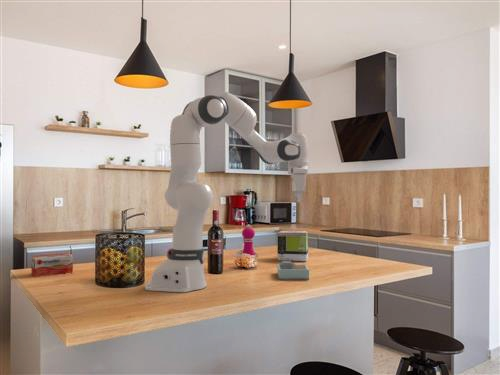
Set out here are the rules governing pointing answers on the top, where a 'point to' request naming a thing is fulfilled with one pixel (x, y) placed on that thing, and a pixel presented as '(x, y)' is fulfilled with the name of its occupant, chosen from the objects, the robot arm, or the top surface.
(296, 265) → the stone sandstone
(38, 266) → the medicine box
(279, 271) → the tub
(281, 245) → the tea box
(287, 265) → the grey block
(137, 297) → the top surface
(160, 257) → the top surface
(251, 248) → the pepper mill
